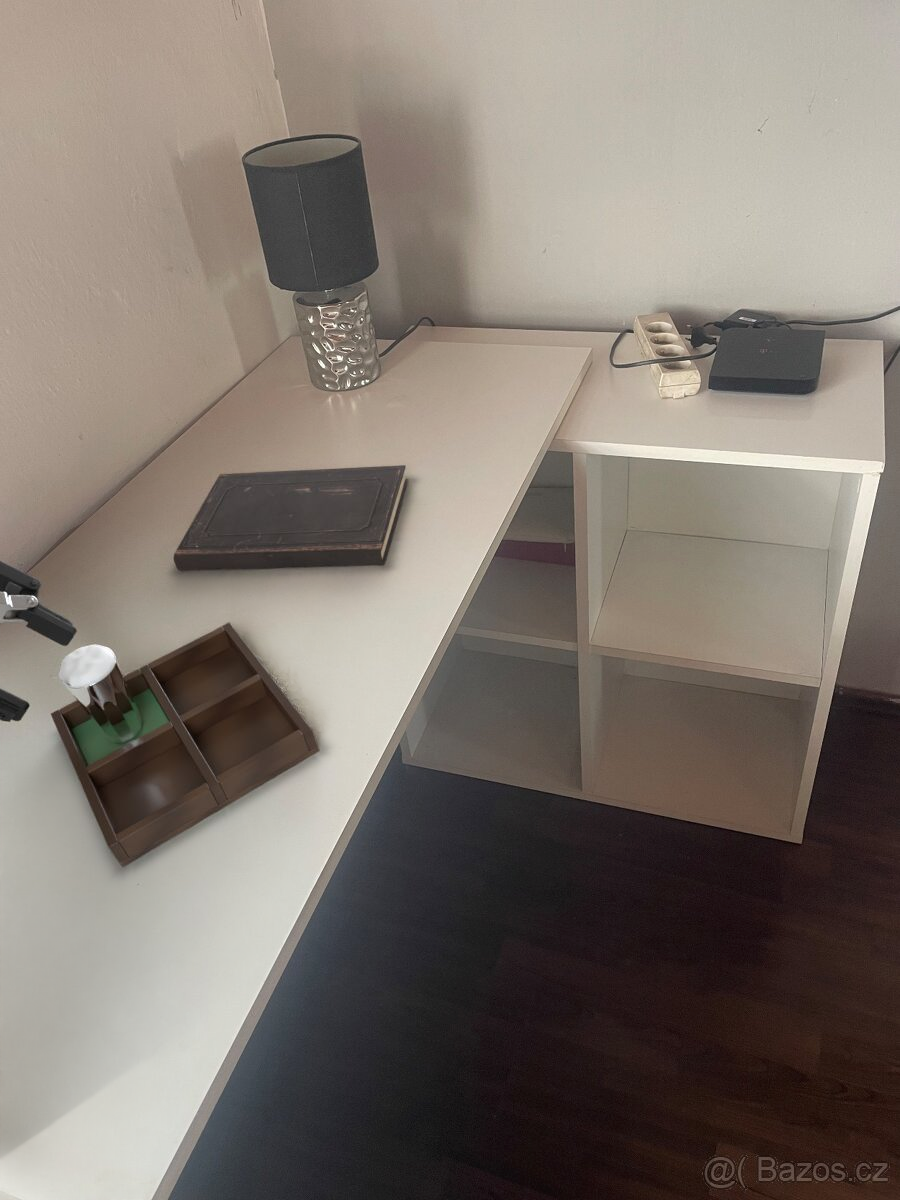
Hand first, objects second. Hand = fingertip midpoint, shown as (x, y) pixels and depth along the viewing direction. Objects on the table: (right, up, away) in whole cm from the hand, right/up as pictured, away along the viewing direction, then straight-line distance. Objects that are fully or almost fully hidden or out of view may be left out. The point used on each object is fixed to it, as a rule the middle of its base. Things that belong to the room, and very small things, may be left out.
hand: (49, 674), depth 72 cm
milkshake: (+5, -6, +4) cm, 8 cm away
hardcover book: (+16, +14, +26) cm, 34 cm away
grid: (+10, -6, +3) cm, 13 cm away
